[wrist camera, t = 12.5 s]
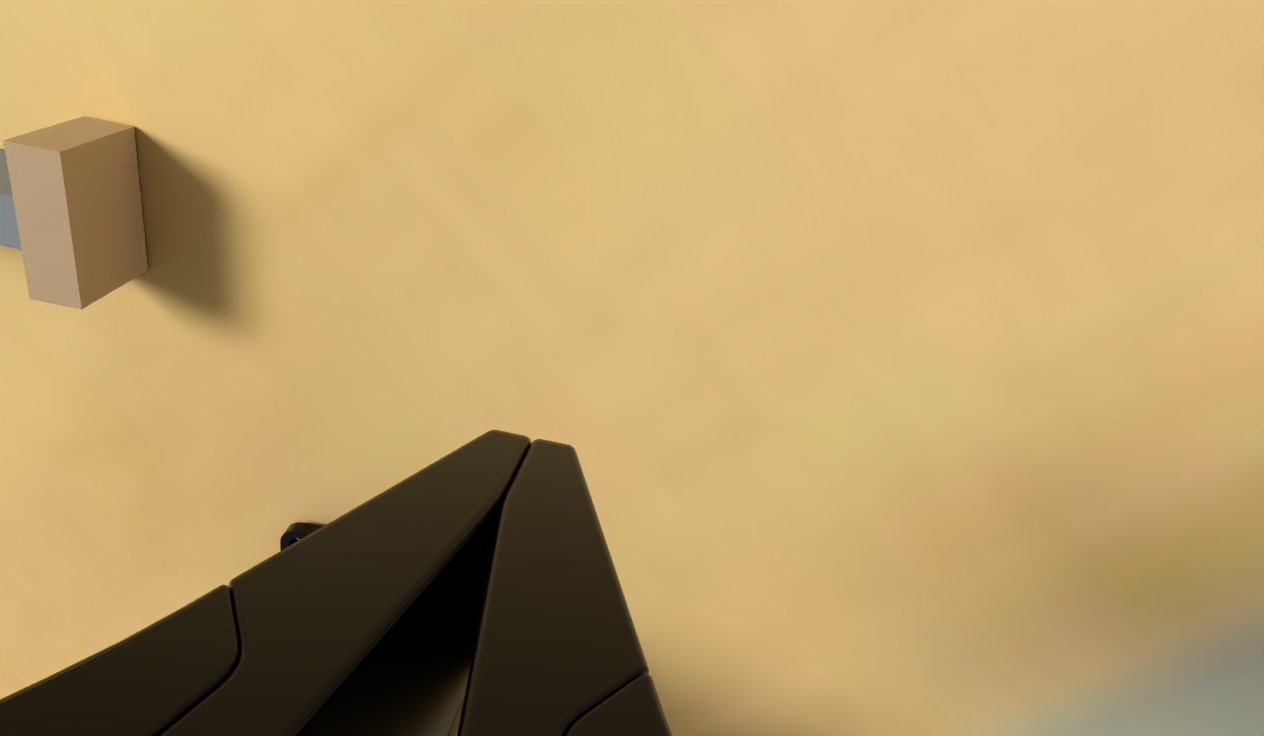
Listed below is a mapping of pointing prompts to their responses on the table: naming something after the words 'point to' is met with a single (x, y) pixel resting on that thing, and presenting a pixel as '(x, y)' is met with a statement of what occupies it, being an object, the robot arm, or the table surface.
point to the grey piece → (74, 209)
